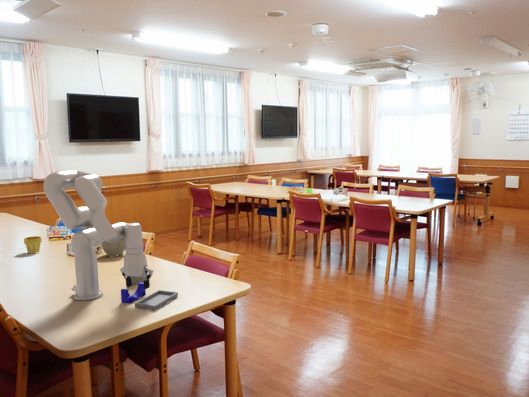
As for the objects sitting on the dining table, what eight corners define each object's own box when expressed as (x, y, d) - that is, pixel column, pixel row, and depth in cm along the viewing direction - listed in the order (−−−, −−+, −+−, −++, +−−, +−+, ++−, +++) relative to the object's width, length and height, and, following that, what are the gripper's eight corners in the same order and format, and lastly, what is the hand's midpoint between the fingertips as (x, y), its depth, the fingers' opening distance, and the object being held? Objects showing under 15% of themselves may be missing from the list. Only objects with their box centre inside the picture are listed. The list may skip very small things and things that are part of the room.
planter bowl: (101, 253, 289) (100, 236, 288) (127, 251, 294) (126, 234, 292) (100, 259, 274) (99, 242, 272) (128, 257, 279) (127, 239, 277)
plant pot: (45, 251, 295) (44, 237, 294) (30, 255, 286) (29, 240, 285) (36, 249, 301) (35, 235, 299) (21, 253, 292) (20, 238, 291)
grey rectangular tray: (134, 307, 194) (134, 303, 193) (159, 294, 210) (158, 289, 210) (154, 310, 190) (154, 306, 190) (177, 296, 207) (177, 292, 206)
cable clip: (128, 304, 198) (127, 291, 197) (121, 302, 200) (120, 289, 200) (148, 296, 209) (147, 283, 208) (141, 294, 211) (140, 282, 210)
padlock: (128, 283, 226) (127, 254, 224) (143, 280, 232) (142, 251, 230) (132, 285, 223) (130, 256, 221) (147, 281, 229) (145, 253, 227)
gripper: (113, 251, 201) (117, 288, 203) (145, 253, 194) (149, 291, 197) (124, 248, 208) (127, 283, 210) (155, 249, 201) (158, 286, 203)
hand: (138, 287), depth 203 cm, fingers open, 9 cm apart
